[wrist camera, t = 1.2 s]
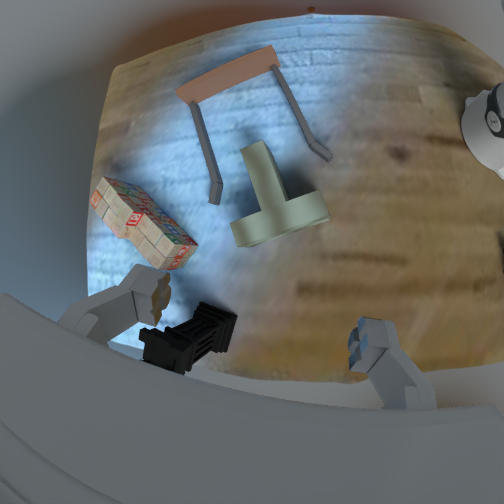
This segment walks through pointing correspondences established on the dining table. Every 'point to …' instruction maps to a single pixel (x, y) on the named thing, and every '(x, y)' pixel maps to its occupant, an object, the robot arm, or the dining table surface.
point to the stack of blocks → (142, 224)
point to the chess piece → (188, 339)
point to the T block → (274, 202)
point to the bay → (225, 79)
